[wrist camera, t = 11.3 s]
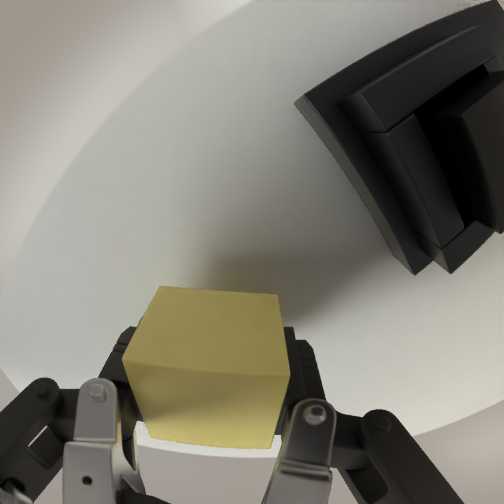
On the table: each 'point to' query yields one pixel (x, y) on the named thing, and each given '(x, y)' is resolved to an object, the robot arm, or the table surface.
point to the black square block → (472, 145)
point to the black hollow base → (408, 132)
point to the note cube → (210, 367)
